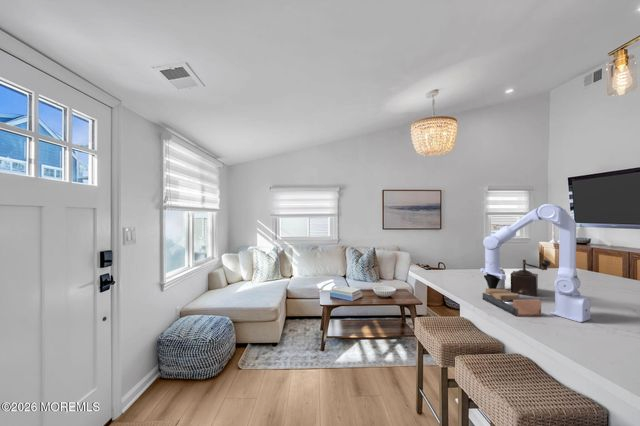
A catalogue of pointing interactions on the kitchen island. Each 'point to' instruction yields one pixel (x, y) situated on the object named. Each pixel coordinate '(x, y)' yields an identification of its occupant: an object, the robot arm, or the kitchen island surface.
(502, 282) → the can
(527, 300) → the roller bed
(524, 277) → the manual coffee grinder
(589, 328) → the kitchen island surface
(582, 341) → the kitchen island surface
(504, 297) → the tan flat block
